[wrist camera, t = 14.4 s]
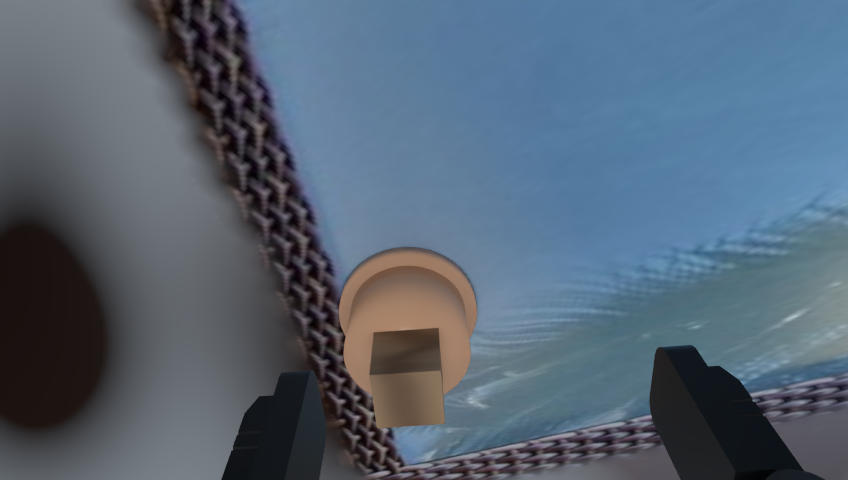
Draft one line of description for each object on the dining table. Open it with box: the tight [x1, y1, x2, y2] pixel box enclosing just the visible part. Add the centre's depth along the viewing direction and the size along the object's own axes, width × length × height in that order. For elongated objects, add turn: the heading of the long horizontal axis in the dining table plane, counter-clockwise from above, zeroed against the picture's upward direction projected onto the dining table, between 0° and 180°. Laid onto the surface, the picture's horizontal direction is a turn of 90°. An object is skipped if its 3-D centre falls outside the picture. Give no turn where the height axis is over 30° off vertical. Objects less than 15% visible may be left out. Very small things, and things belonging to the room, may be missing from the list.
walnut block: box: [369, 328, 445, 428], centre depth 44 cm, size 5×5×5 cm
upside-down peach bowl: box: [339, 247, 477, 395], centre depth 50 cm, size 12×12×7 cm
